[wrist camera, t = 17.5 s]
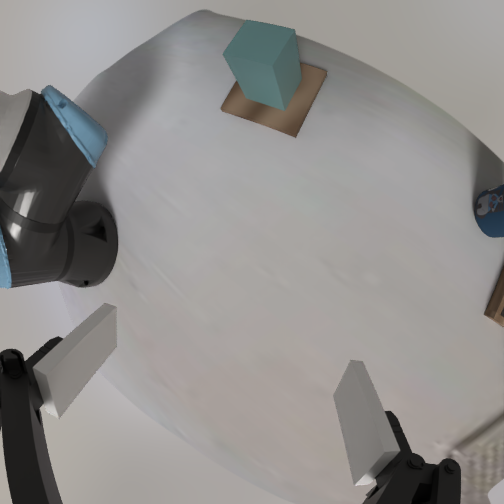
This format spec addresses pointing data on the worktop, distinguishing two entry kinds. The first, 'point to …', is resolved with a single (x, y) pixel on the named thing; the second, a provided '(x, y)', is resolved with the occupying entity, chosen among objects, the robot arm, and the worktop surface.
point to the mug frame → (497, 302)
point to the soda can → (491, 211)
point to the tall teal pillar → (265, 63)
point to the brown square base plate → (272, 116)
